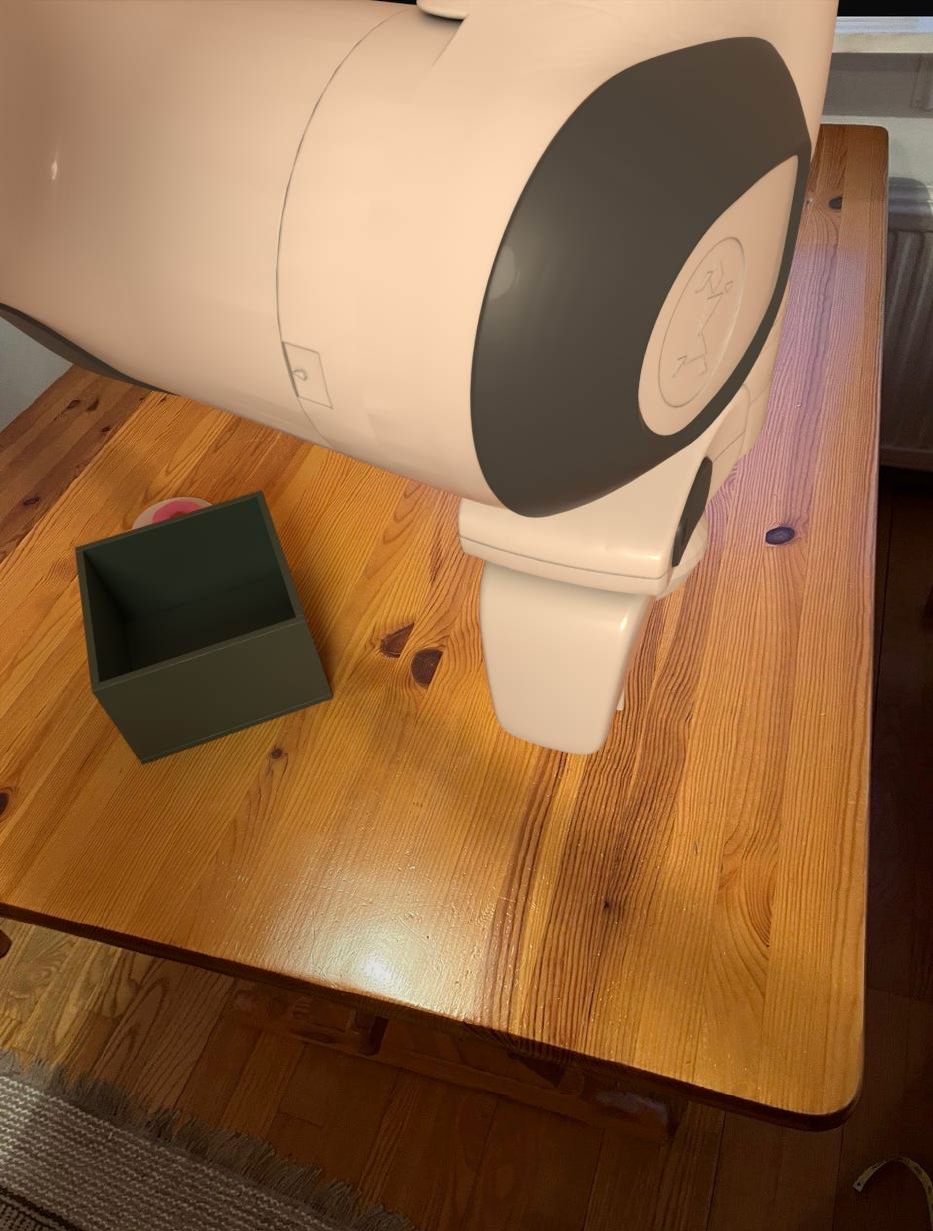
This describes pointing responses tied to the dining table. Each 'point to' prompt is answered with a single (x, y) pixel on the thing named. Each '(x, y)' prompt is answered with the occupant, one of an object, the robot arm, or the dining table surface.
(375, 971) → the dining table surface
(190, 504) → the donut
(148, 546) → the bin
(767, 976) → the dining table surface
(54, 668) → the dining table surface
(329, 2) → the robot arm
